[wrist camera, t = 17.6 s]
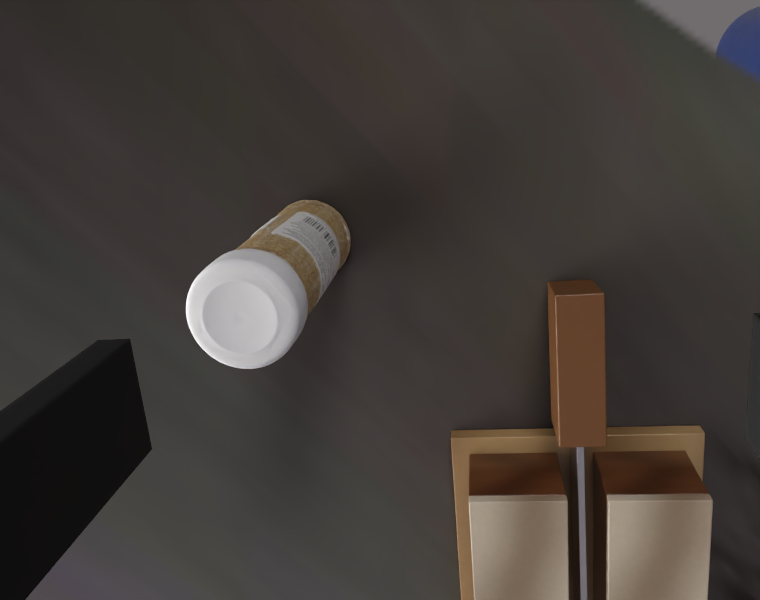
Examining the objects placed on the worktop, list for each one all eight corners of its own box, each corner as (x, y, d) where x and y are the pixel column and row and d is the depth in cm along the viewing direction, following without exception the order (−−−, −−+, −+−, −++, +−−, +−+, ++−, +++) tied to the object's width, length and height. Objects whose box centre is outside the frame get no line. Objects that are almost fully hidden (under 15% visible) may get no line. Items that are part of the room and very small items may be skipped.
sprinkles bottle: (260, 215, 40) (162, 282, 28) (334, 186, 39) (268, 242, 27) (292, 289, 42) (212, 386, 29) (365, 263, 41) (316, 352, 28)
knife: (547, 281, 40) (554, 295, 36) (592, 279, 39) (605, 292, 35) (558, 656, 44) (566, 704, 40) (599, 657, 44) (611, 706, 40)
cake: (699, 424, 41) (736, 482, 35) (690, 627, 45) (721, 708, 40) (451, 430, 43) (448, 485, 37) (463, 624, 47) (462, 700, 41)
